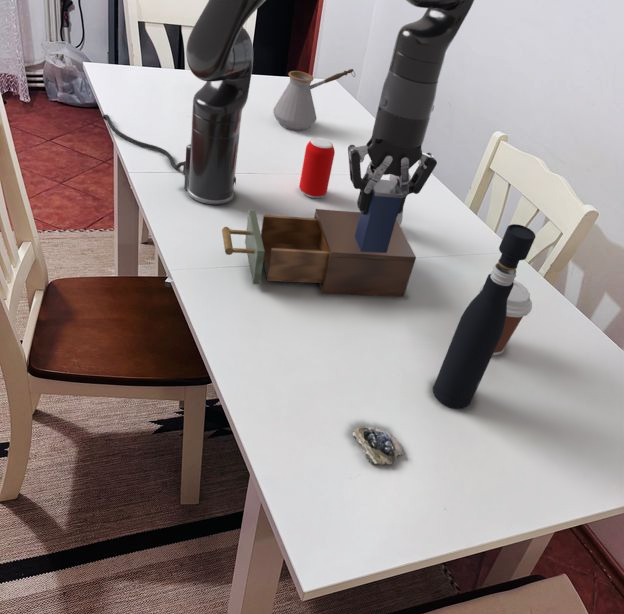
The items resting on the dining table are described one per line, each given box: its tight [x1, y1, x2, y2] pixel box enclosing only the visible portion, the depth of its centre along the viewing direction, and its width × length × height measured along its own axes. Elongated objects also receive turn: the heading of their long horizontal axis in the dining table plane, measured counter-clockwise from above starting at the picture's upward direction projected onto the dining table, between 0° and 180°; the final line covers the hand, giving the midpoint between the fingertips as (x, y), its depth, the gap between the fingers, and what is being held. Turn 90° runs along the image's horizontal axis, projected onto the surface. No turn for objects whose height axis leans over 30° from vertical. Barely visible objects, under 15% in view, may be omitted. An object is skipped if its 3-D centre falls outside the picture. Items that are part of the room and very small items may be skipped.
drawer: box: [221, 209, 329, 286], centre depth 118 cm, size 20×14×7 cm
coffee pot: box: [272, 68, 356, 132], centre depth 172 cm, size 21×12×15 cm, turn 120°
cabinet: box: [313, 208, 417, 298], centre depth 123 cm, size 16×15×9 cm
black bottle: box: [432, 223, 536, 410], centre depth 95 cm, size 6×6×30 cm
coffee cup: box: [479, 279, 533, 356], centre depth 113 cm, size 9×9×12 cm
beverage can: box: [299, 137, 336, 199], centre depth 143 cm, size 6×6×12 cm
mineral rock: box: [352, 425, 405, 466], centre depth 92 cm, size 7×8×2 cm
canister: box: [355, 178, 403, 253], centre depth 104 cm, size 4×4×10 cm
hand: (378, 212), depth 103 cm, fingers closed on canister, 4 cm apart
